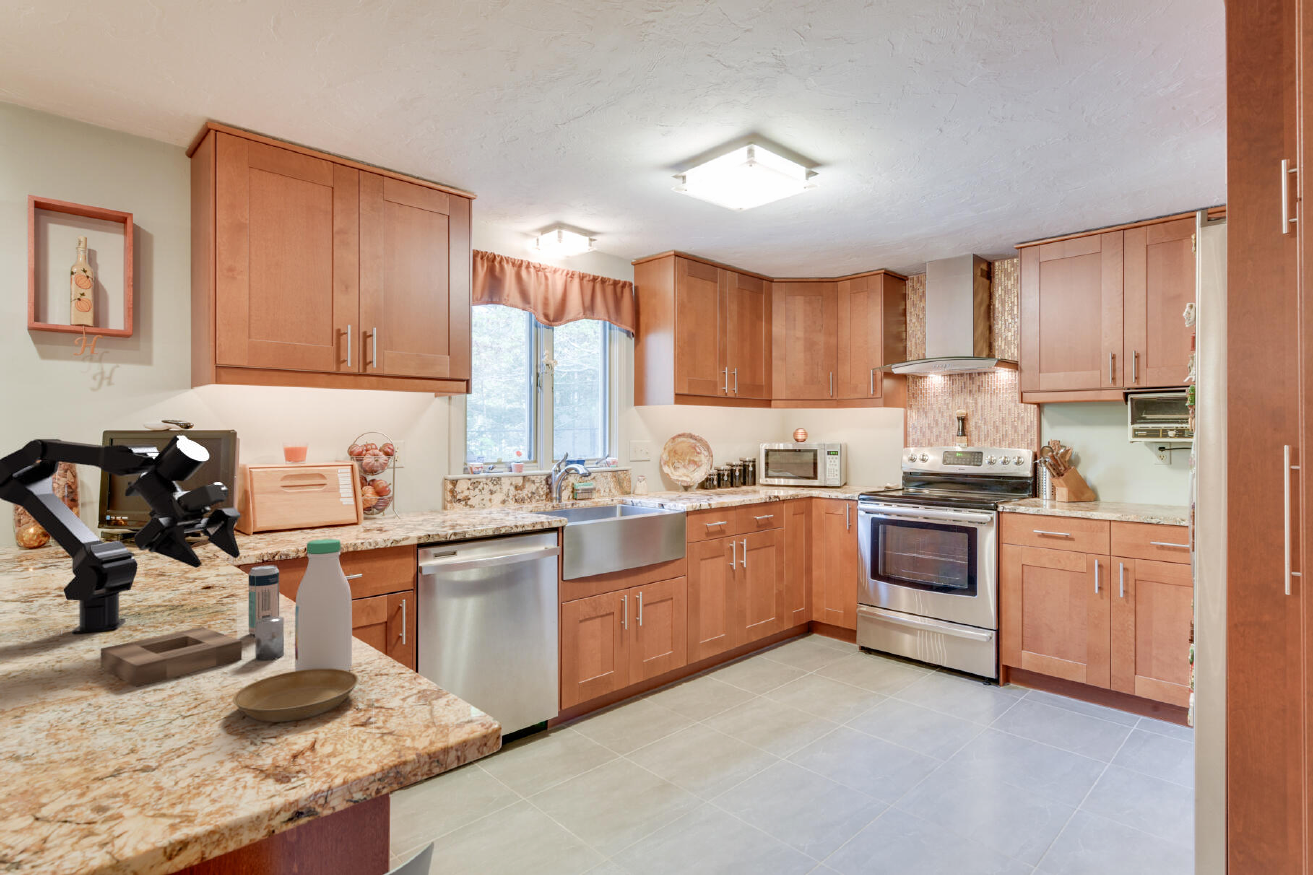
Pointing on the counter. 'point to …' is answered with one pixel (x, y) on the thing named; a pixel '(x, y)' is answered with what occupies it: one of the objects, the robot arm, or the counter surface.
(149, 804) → the counter surface
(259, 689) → the plant saucer
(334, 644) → the milk bottle
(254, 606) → the beer can
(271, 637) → the short steel pin
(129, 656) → the walnut collar
